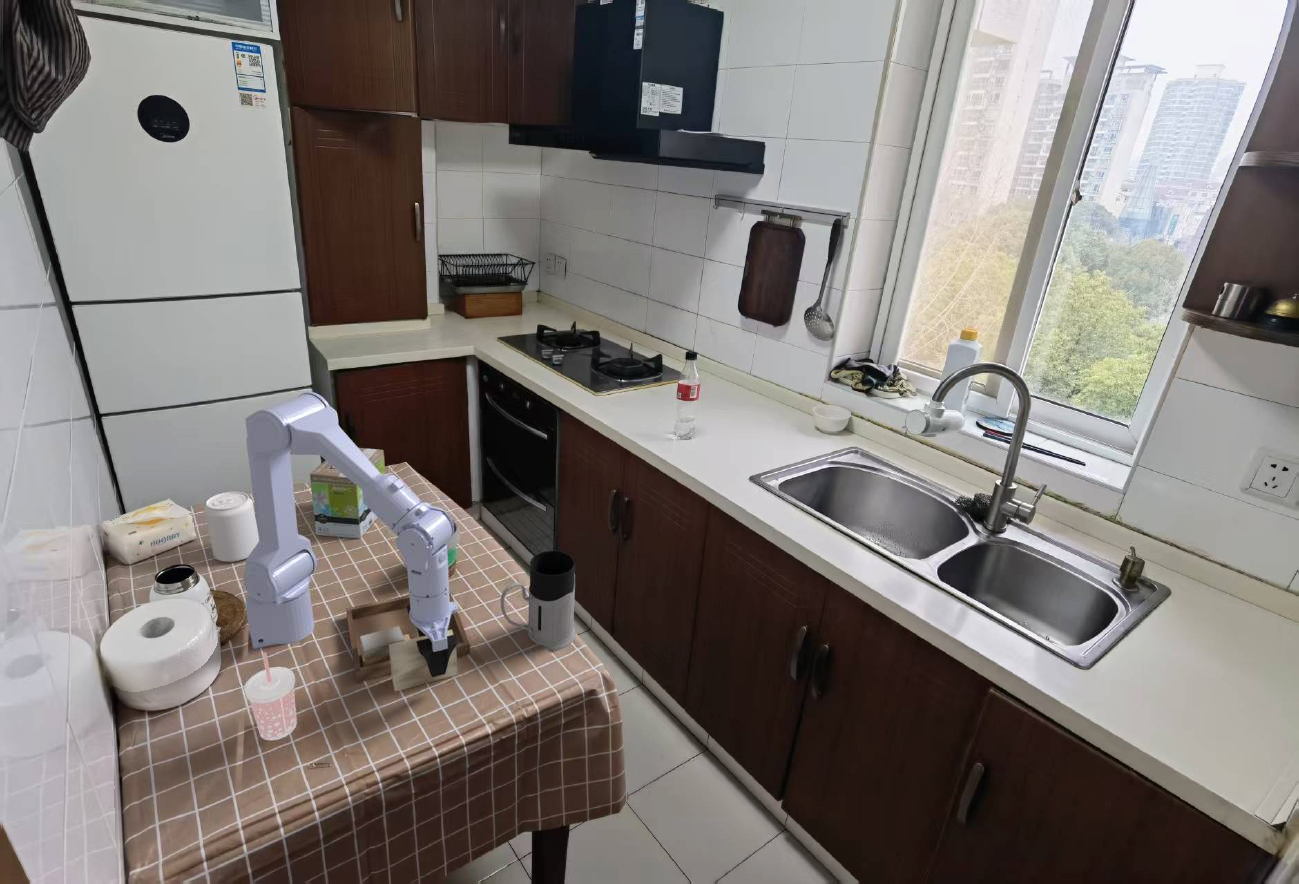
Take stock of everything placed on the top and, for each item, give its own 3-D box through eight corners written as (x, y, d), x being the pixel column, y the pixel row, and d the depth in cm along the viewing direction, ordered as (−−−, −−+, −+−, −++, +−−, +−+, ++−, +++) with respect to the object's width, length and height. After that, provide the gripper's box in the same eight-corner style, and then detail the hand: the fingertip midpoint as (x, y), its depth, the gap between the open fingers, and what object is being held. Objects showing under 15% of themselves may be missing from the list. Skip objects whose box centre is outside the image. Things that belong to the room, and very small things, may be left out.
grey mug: (585, 637, 119) (588, 566, 113) (515, 671, 110) (515, 596, 104) (557, 612, 125) (559, 543, 119) (488, 643, 116) (487, 569, 110)
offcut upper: (365, 660, 106) (364, 650, 105) (361, 646, 109) (360, 636, 108) (405, 649, 109) (404, 639, 108) (399, 635, 112) (398, 625, 111)
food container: (443, 596, 127) (441, 551, 123) (413, 590, 127) (410, 545, 124) (472, 561, 138) (471, 519, 134) (444, 556, 139) (442, 514, 135)
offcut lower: (364, 671, 106) (362, 661, 106) (361, 654, 110) (360, 645, 109) (413, 658, 110) (412, 649, 109) (409, 643, 113) (408, 633, 112)
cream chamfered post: (394, 692, 103) (391, 656, 100) (392, 679, 106) (388, 644, 103) (457, 676, 107) (455, 641, 105) (453, 664, 110) (451, 629, 107)
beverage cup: (291, 708, 100) (277, 632, 94) (310, 730, 96) (298, 653, 91) (246, 731, 95) (230, 653, 90) (266, 756, 92) (249, 676, 86)
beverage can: (263, 557, 134) (254, 504, 129) (215, 568, 129) (204, 513, 124) (258, 538, 140) (249, 487, 135) (212, 548, 135) (201, 495, 130)
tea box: (362, 539, 142) (356, 477, 136) (315, 536, 142) (306, 473, 136) (389, 505, 156) (384, 447, 150) (345, 502, 156) (339, 444, 150)
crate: (357, 686, 104) (355, 672, 103) (347, 621, 118) (345, 608, 117) (470, 657, 112) (469, 644, 111) (448, 599, 126) (448, 587, 125)
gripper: (467, 608, 96) (469, 682, 102) (446, 556, 108) (449, 624, 113) (416, 620, 93) (421, 695, 98) (400, 564, 105) (405, 634, 110)
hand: (433, 658), depth 106 cm, fingers open, 7 cm apart
